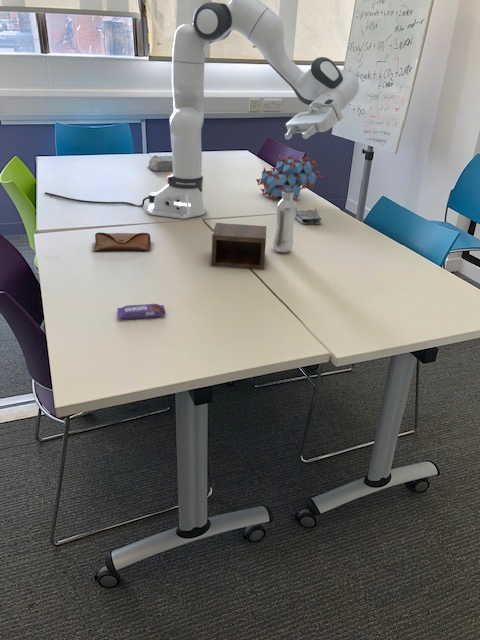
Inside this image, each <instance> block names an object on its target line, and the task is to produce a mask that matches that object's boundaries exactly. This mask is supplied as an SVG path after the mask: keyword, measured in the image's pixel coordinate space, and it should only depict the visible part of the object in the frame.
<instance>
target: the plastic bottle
mask: <svg viewBox="0 0 480 640" xmlns="http://www.w3.org/2000/svg"><path fill="white" fill-rule="evenodd" d="M294 198H295V197H294V191H292V190H283V191H282V196H281V199H280V200H279V201H278V203H277V205H276V227H275V233H274V237H273V240H272V248H273V250H274V251H275V252H278V253H289V252H291V250H292V249H293V247H294V225H295V219H296V218H295V216H296V212H297V211H298V205H297V203H296V202H295V200H294Z"/></svg>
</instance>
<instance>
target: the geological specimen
mask: <svg viewBox="0 0 480 640" xmlns="http://www.w3.org/2000/svg"><path fill="white" fill-rule="evenodd" d="M148 168H149V169H150V170H152V171H155V172H173V156H172V155H162V156H161V155H159V156H158V155H153V156H152V157H151V158H150V160H149V161H148Z"/></svg>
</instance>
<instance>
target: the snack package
mask: <svg viewBox="0 0 480 640" xmlns="http://www.w3.org/2000/svg"><path fill="white" fill-rule="evenodd" d="M116 309H117V318H118V319H124V320H138V319H151V318H159V317H161V316H166V315H167V313H166V309H165V305H164V304H159V303H146V304H131V305H125V306H122V307H117V308H116Z"/></svg>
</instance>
